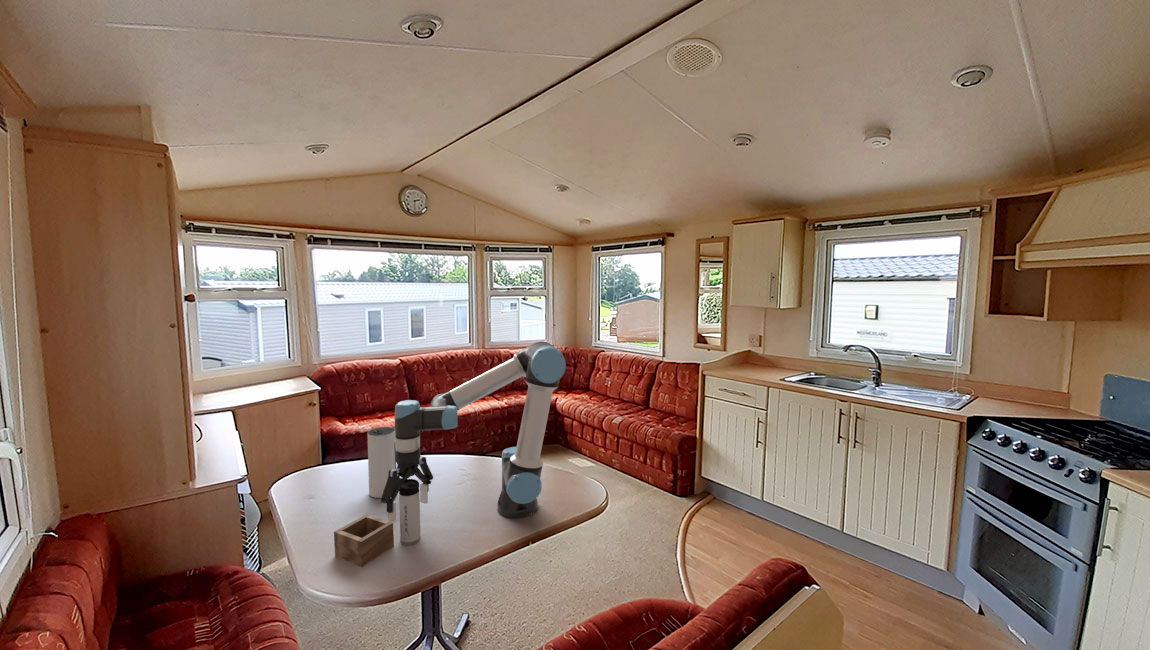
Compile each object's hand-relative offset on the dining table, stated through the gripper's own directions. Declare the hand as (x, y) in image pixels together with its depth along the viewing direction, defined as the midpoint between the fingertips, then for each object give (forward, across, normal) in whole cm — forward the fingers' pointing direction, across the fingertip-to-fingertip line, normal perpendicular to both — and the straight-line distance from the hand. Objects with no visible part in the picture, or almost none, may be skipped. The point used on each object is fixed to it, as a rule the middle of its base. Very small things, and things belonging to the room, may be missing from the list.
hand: (408, 511), depth 149 cm
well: (+10, +11, -8) cm, 17 cm away
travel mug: (+10, 0, 0) cm, 10 cm away
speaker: (+10, -20, -35) cm, 42 cm away
